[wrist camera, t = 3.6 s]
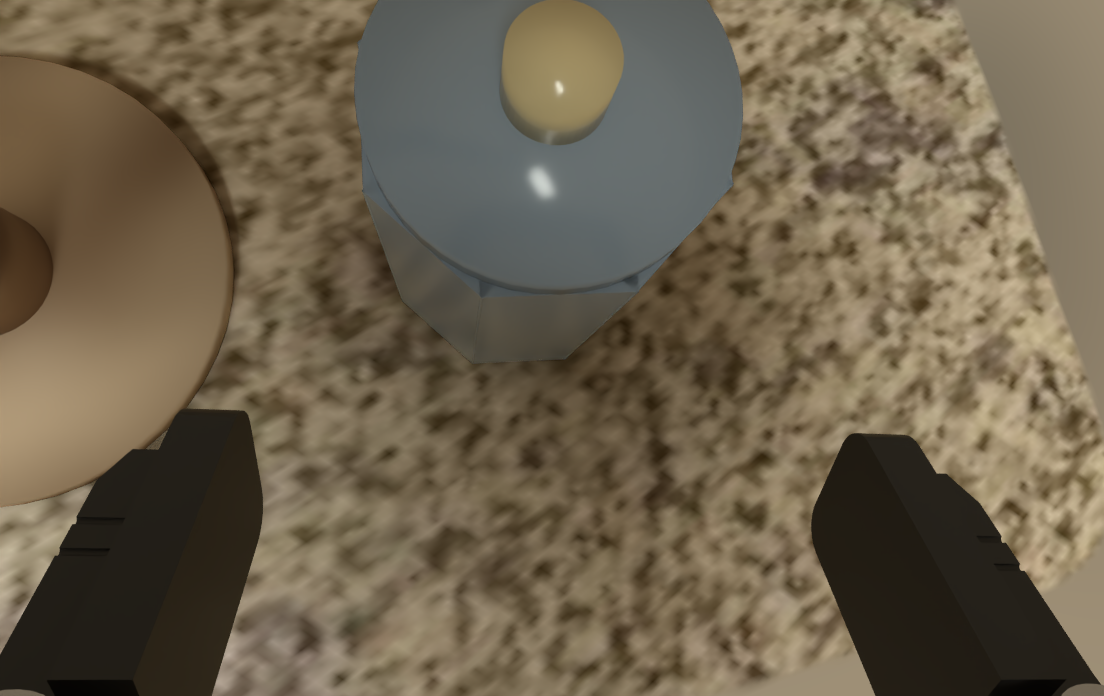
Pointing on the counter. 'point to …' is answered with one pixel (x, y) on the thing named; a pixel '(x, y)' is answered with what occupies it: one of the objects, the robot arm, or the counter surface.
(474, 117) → the octagonal knobbed canister
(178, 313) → the trivet
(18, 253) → the spice jar
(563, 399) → the counter surface
